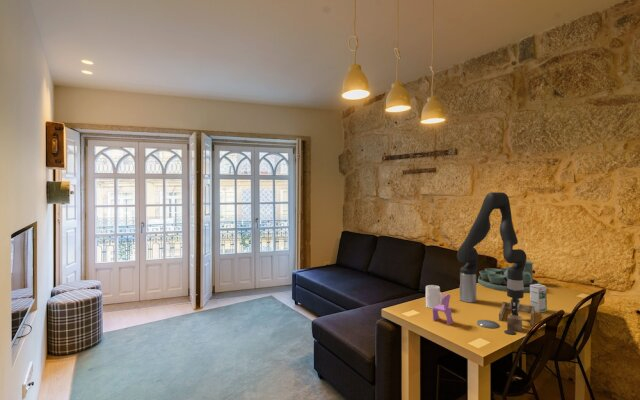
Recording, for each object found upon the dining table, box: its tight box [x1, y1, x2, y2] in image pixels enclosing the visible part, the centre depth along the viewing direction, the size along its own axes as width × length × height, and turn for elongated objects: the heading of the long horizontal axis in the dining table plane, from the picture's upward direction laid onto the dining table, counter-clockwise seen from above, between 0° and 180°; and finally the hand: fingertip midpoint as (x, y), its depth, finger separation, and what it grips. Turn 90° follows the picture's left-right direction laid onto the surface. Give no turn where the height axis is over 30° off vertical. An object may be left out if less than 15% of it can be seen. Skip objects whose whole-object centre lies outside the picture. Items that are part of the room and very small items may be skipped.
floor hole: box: [503, 330, 517, 336], centre depth 165 cm, size 5×5×1 cm
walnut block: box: [506, 313, 523, 333], centre depth 170 cm, size 6×6×6 cm
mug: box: [424, 284, 445, 310], centre depth 203 cm, size 8×12×12 cm
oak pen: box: [498, 301, 536, 327], centre depth 187 cm, size 15×23×4 cm, turn 147°
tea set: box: [477, 260, 542, 293], centre depth 250 cm, size 40×40×16 cm
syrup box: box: [529, 283, 548, 313], centre depth 195 cm, size 6×6×14 cm
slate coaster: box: [476, 319, 499, 329], centre depth 176 cm, size 10×10×1 cm
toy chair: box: [432, 293, 454, 326], centre depth 181 cm, size 8×9×15 cm
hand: (515, 318), depth 180 cm, fingers open, 8 cm apart
